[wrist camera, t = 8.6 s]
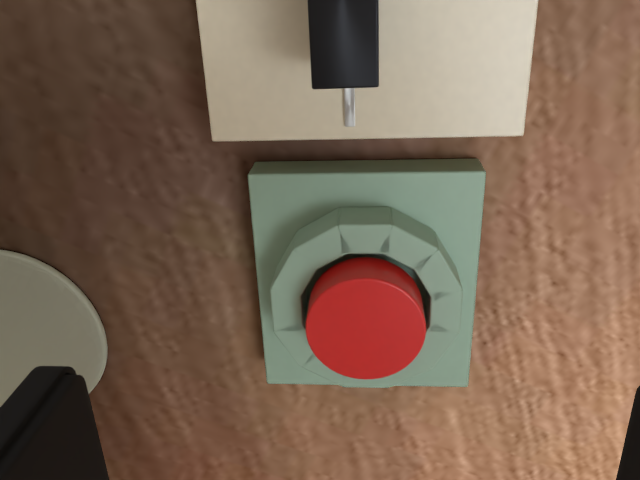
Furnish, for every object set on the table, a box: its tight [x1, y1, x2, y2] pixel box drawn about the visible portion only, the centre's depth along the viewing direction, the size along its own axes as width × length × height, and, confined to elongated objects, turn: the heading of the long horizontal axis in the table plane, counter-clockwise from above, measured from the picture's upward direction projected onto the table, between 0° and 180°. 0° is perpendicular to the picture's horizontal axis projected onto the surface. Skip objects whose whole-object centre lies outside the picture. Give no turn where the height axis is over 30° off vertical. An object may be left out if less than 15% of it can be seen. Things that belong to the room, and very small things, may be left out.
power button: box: [305, 257, 426, 379], centre depth 22 cm, size 4×4×2 cm
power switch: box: [248, 159, 486, 388], centre depth 24 cm, size 10×9×4 cm
